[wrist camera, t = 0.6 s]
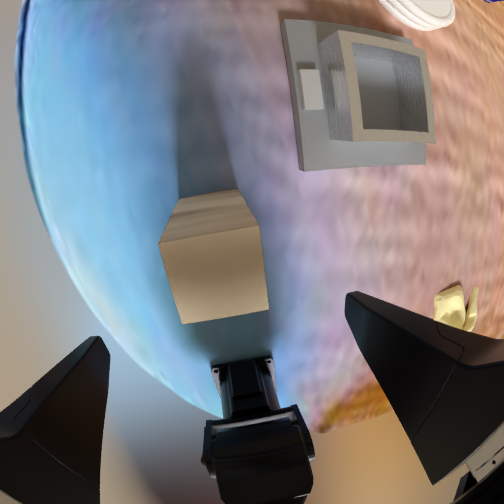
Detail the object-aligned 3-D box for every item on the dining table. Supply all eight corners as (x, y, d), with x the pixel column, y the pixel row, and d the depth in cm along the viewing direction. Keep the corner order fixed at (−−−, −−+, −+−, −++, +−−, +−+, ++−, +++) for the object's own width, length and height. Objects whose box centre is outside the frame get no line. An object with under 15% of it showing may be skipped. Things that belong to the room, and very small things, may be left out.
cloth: (429, 380, 39) (445, 401, 33) (368, 379, 33) (387, 409, 28) (497, 279, 32) (520, 296, 26) (459, 242, 27) (493, 263, 21)
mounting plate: (417, 162, 21) (429, 165, 19) (299, 169, 20) (307, 172, 18) (404, 42, 16) (415, 38, 14) (280, 24, 15) (286, 16, 13)
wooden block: (245, 243, 22) (268, 309, 13) (190, 252, 21) (182, 324, 13) (237, 188, 20) (259, 225, 12) (178, 198, 19) (158, 243, 11)
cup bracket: (408, 139, 19) (435, 143, 16) (330, 139, 18) (353, 141, 15) (398, 56, 16) (424, 49, 12) (317, 44, 15) (337, 29, 12)
